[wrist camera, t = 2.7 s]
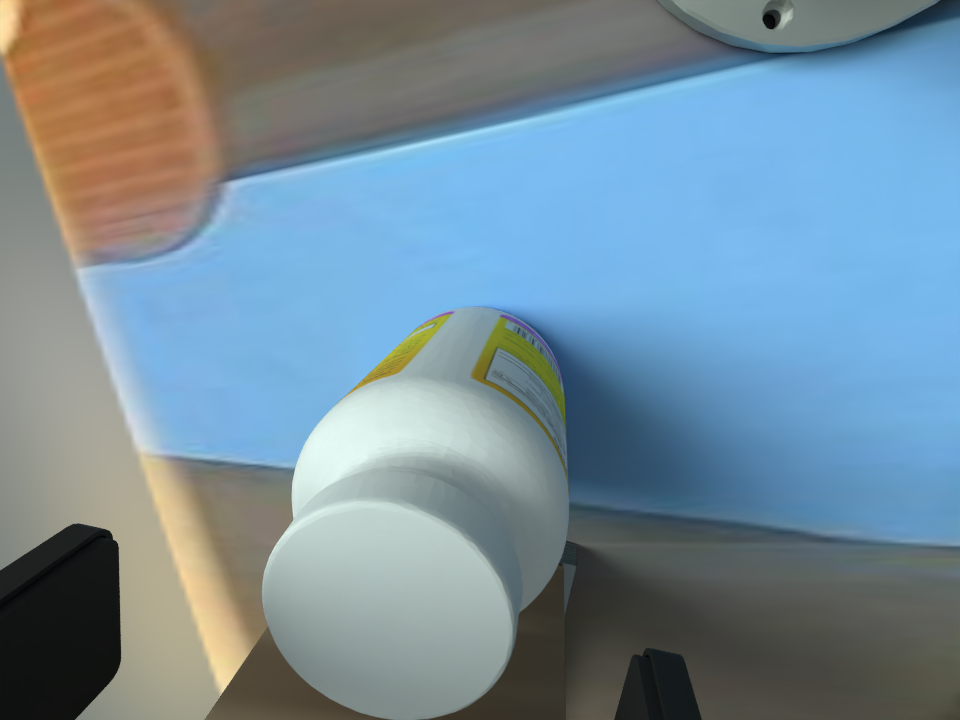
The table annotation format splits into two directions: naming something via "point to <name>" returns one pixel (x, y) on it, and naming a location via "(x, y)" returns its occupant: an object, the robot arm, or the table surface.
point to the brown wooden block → (495, 716)
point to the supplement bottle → (425, 520)
